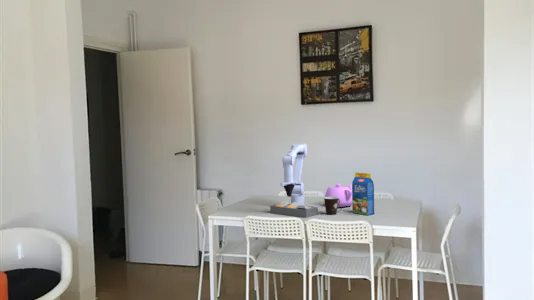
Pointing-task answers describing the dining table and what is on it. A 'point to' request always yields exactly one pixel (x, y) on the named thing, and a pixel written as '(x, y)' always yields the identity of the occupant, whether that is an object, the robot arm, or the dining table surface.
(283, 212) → the power strip
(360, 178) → the blue food package
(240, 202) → the dining table surface
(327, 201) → the coffee mug
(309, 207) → the rocker outlet
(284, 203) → the outlet rocker
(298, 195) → the robot arm
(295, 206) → the outlet rocker
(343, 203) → the teapot
